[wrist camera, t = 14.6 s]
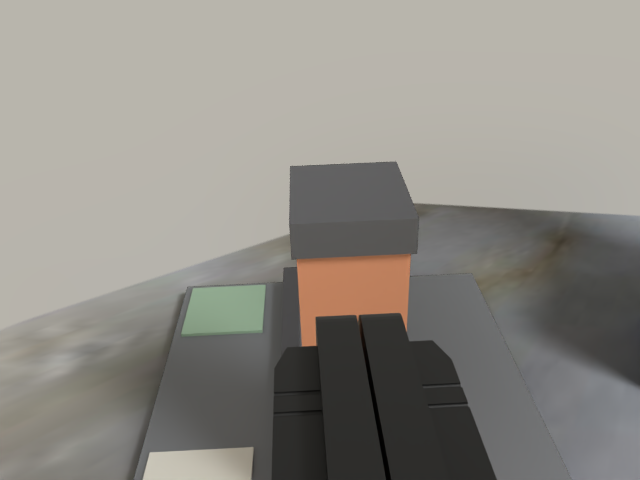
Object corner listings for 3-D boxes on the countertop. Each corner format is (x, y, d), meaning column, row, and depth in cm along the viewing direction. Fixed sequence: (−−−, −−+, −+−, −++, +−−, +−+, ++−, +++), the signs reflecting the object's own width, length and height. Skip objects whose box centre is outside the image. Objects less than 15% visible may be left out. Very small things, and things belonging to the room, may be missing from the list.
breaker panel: (470, 285, 42) (473, 258, 41) (596, 554, 24) (607, 521, 23) (189, 298, 41) (184, 272, 40) (114, 581, 24) (102, 548, 23)
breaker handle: (386, 443, 28) (396, 161, 21) (400, 527, 24) (419, 218, 17) (307, 447, 28) (290, 165, 21) (309, 532, 24) (289, 224, 17)
